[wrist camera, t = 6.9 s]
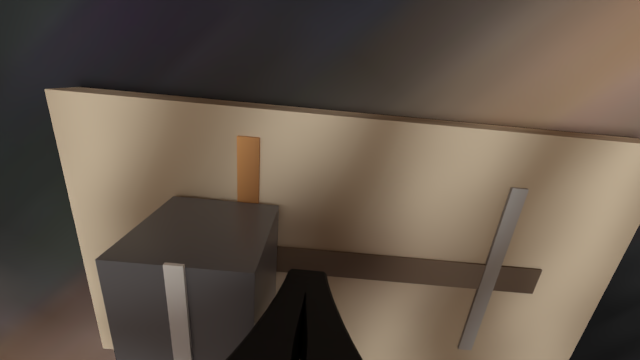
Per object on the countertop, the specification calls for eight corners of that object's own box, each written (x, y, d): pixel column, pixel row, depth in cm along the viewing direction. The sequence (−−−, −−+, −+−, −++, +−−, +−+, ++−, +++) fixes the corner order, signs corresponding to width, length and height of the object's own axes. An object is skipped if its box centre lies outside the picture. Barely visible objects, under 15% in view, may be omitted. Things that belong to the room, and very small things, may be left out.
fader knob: (279, 203, 11) (253, 272, 7) (274, 311, 13) (252, 412, 9) (173, 193, 11) (91, 258, 7) (183, 302, 13) (122, 401, 9)
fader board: (637, 138, 12) (683, 148, 10) (534, 358, 16) (556, 388, 14) (79, 87, 11) (41, 89, 10) (123, 323, 16) (101, 350, 14)
